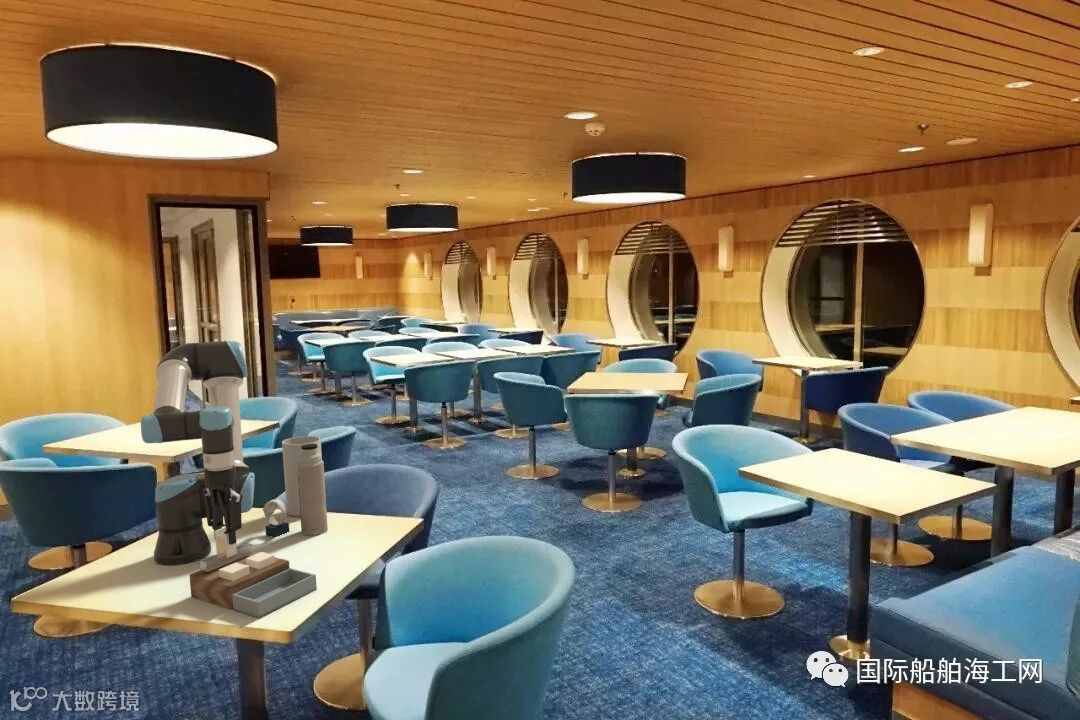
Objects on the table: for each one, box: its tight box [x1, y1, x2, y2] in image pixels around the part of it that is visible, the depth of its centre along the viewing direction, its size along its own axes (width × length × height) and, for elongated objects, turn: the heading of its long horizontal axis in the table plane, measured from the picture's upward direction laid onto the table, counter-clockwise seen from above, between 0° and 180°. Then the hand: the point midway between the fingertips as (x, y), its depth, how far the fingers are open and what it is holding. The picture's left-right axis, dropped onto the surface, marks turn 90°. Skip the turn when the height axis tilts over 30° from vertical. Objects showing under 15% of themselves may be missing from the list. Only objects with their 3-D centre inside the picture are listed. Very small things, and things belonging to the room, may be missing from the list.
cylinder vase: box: [281, 435, 323, 517], centre depth 254 cm, size 12×12×25 cm
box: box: [232, 567, 318, 620], centre depth 186 cm, size 9×18×4 cm, turn 150°
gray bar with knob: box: [199, 534, 254, 572], centre depth 194 cm, size 3×14×7 cm, turn 150°
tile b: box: [246, 551, 276, 569], centre depth 194 cm, size 5×5×2 cm
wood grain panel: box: [189, 551, 291, 611], centre depth 193 cm, size 16×18×6 cm
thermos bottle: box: [297, 444, 329, 536], centre depth 234 cm, size 8×8×28 cm
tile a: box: [219, 563, 250, 581], centre depth 187 cm, size 5×5×2 cm
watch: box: [262, 498, 290, 538], centre depth 233 cm, size 6×8×11 cm
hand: (226, 554), depth 195 cm, fingers closed on gray bar with knob, 3 cm apart
